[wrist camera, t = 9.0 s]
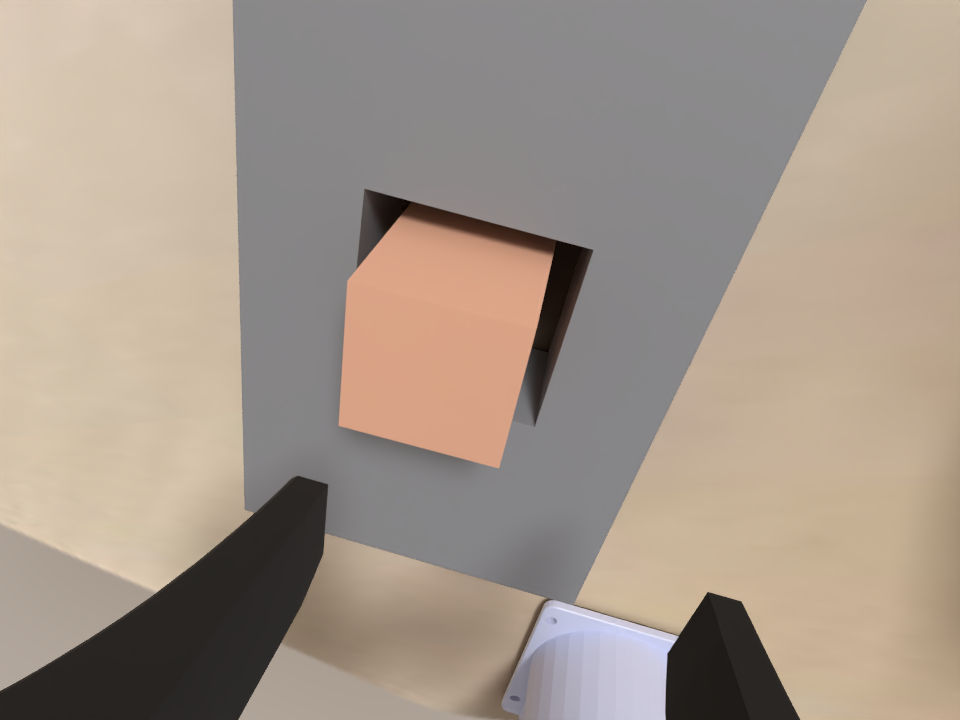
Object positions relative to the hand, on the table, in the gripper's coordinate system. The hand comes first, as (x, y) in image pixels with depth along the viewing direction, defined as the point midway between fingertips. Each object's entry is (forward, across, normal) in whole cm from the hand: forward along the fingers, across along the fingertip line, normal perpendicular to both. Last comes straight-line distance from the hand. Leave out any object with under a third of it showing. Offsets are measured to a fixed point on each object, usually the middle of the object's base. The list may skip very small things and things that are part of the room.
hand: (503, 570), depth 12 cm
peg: (+10, +2, -1) cm, 11 cm away
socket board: (+10, +2, -1) cm, 11 cm away
